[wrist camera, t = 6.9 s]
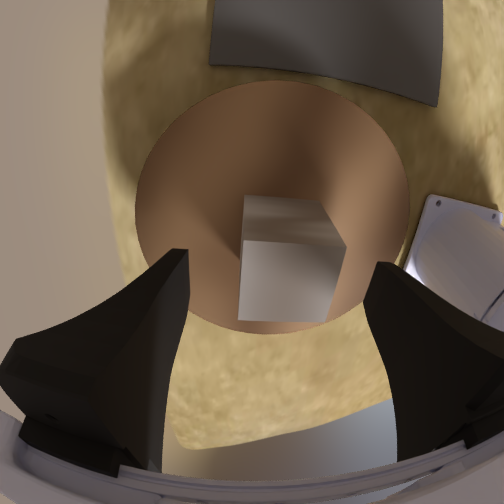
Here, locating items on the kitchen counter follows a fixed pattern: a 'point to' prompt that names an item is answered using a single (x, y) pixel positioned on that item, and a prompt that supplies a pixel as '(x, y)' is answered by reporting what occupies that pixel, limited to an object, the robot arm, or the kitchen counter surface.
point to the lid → (274, 205)
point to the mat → (337, 41)
